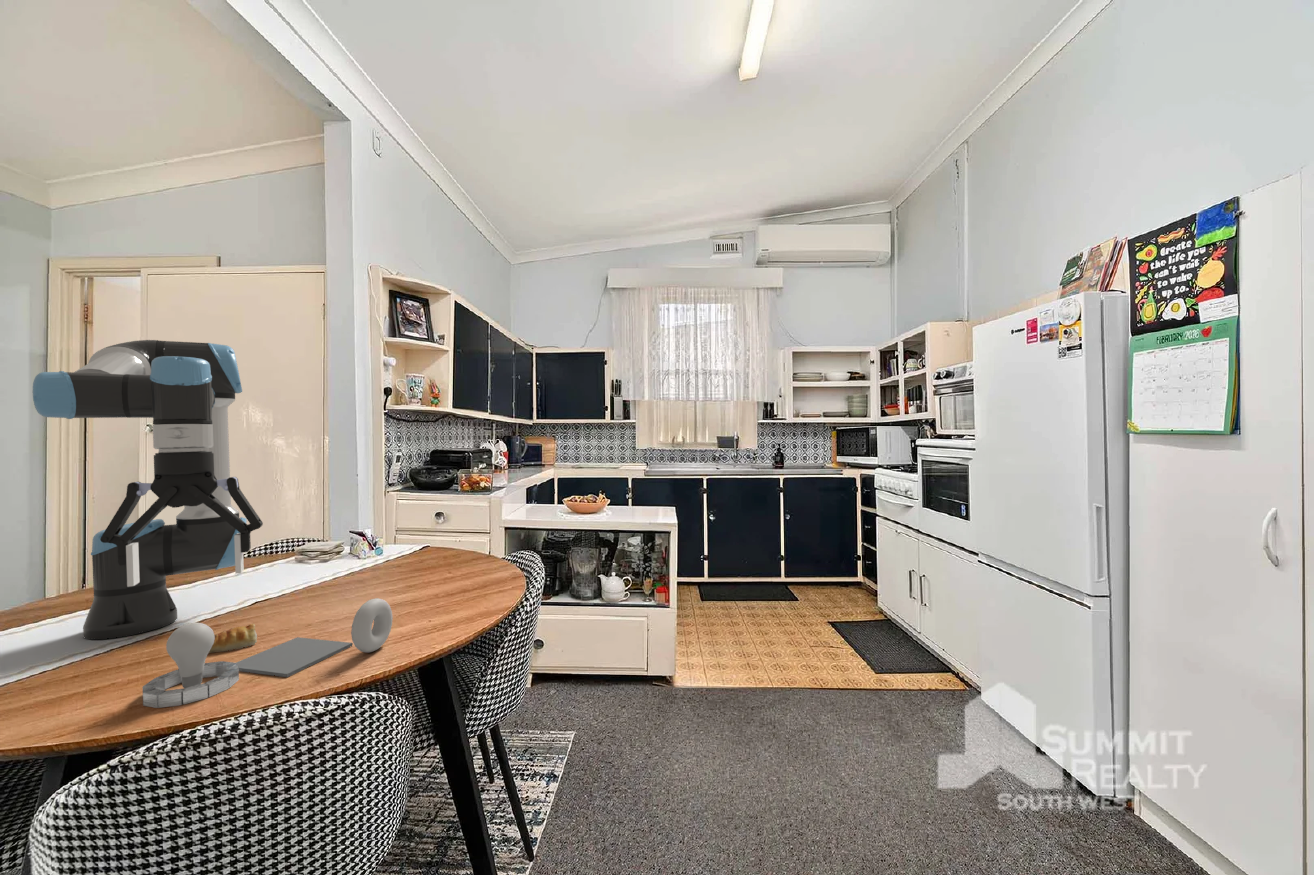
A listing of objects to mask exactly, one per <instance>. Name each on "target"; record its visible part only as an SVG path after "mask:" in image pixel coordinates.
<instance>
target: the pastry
mask: <svg viewBox="0 0 1314 875" xmlns="http://www.w3.org/2000/svg"><path fill="white" fill-rule="evenodd" d="M257 634H258V633H257V632H256V624H255V623H251V624H248V625H244V626H243V625H241V626H236V627H231V628H229V629H228V630H223V631H220V632H219V633H217V634H214V635H215V640H214V643H213V645H212V647H211V649H210V651H209V653H208V654H212V653H223V652H228V650H229V651H234V650H233V649H235V650H239V649H243V647H245V648H248V647H247V646H249V647H252V646H251V645H253V646H255V645H256V644H257V643H256V642H258V641H257V638H258V635H257ZM255 643H256V644H255Z"/></svg>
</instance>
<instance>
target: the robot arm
mask: <svg viewBox="0 0 1314 875" xmlns="http://www.w3.org/2000/svg"><path fill="white" fill-rule="evenodd" d="M240 393H241V394H242V393H243V388H242V384H241V378H240V373H239V368H238V362H237V357H236V352H235V350H234V349H233V347H231V346H229V345H225V344H220V343H211V342H193V341H173V340H158V339H141V340H132V341H127V342H119V343H116V344H113V345H109V346H106V347H104V348H101V349H99V350H97V351H96V352H94V353H93V354H92V355H91V357H89V360H88V363H86V364H85V365H84V366H82V367H79V368H78V369H77V370H75V371H72V372H71V371H70V372H69V371H63V370H59V371H42V372H39V373H37V374H36V375H35V377H34V379H33V383H32V400H33V405H34V408H35V410H36V412H37V413H38V414H39V415H40V416H42V417H44V418H55V419H56V418H59V419H67V420H73V419H97V418H99V419H105V418H107V419H109V418H111V419H112V418H115V419H117V418H132V419H134V418H135V419H141V418H143V419H144V418H149V419H152V441H153V442H152V445H153V446H152V447H153V449H155V450H158V452H156V453H154V455H153V469H154V470H153V471H154V472H153V474H154V475H153V477H154V478H153V481H152V483H151V482H150V483H149V482H141V481H134V482H132V481H131V482H130V483H128V484H127V486H126V493H125V498H124V499H123V501H122V503H121V504H120V506H119V507H118V509H117V511H116V512H115V514H114V515H113V517H112V519H111V520H110V522H109V524H108V525H107V527H106V528H105V529H103V530H100V531H98V532H97V533H95V535H94V536H93V537H92V545H91V546H92V547H91V552H90V555H91V559H92V562H91V563H92V579H93V580H92V583H93V599H92V603H91V604H90V609H89V611H88V614H87V616H86V619H85V621H84V623H83V625H82V626H83V628H82V631H83V632H82V633H83V634H82V636H84V637H85V638H84V637H83V638H84V639H86V638H87V639H86V640H107V638H109V639H116V637H117V638H122V636H124V637H129V636H134V635H139V634H143V633H147V632H149V631H150V632H151V631H155V630H156V629H160V628H164V627H165V626H168V625H170V623H171V624H173V623H174V622H176V621H177V620H178V608H177V607H176V604H175V603H174V600H173V598H172V597H171V594H170V592H169V590H168V589H167V579H166V578H167V577H169V576H174V575H181V574H183V575H184V574H188V573H189V574H190V573H197V572H204V571H212V570H215V571H217V570H219V569H225V568H230V567H235V568H234V570H235V571H234V572H235V574H241V573H242V572H244V570H245V565H244V564H245V563H244V553H249V552H250V549H251V533H252V532H253V531H256V530H258V529H259V530H260V528H261V527H262V526H263V525H264V522H263V521H262V519H261V518H260V516H259V515H258V513H257V512H256V510H255V509H254V508H253V506H252V505H251V503H250V502H249V501H248V499H247V498H246V496H245V494H244V493H243V492H242V490H241V488H240V483H239V478H238V477H237V476H231V469H230V467H231V465H230V441H229V440H230V439H229V412H228V411H229V407H230V405H232V404H233V403H234V402H235V401H236V394H240ZM149 491H151V492H152V493H153V494H154V495H156V497H157V499H156V500H155V501H154V502H153V503H152V504H151V505H150V507H149V508H148V509H147V510H146V511H145V512H144V513H143V514H141V516H140V517H139V518H138V519H136V521H135V522H131V523H127V521H128V520H129V518H130V516H131V514H132V513H133V511H134V509H135V508H136V506H137V505H138V503H139V501H140V499H141V497H142V496H145V495H147V493H148V492H149ZM232 500H233V501H234V503H235V504H236V505H237V506H238V508H239V510H240V511H241V513H242V514H243V516H244V517H243V516H241V517H240V511H239V510H238V509H237V508H235V507H234V506H233V505H232ZM167 507H171V508H174V509H175V508H181V507H183V510H182V511H180V513H179V514H177V515H176V516H175V519H176V520H175V521H176V523H174V524H166V522H165V521H164V519H162V518H157V519H155V518H156V517H157V516H158V515H159V514H160V513H161V512H162V511H163V510H165V509H166V508H167ZM247 522H248V524H247ZM176 619H177V620H176ZM175 620H176V621H175Z"/></svg>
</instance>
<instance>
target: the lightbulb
mask: <svg viewBox="0 0 1314 875" xmlns="http://www.w3.org/2000/svg"><path fill="white" fill-rule="evenodd" d="M215 635H216V634H215V632H214V630H213V629H212V628H211V627H210V626H209V625H207V624H206V623H203V622H190V623H186V624H183V625H181V626H179V627H177V628H176V629H175V630H174V631H172V633H171V634H170V636H169V637H168V638H167V640H166V644H165V646H166V652H167V654H168V655H169V657H170V659H172V660H173V661H174V662H175V665H177V667H178V668H177V670H178V669H179V674H180V676H181V677H182V683H181V685H182V689H183V688H188V687H192V686H195V685H199V684H203V678H202V677H203V676H202V673H203V671H204V664H205V663H206V659H207V657H208V655H209V654H210V653H209V651H210V649H211V647H212V645H213V643H214V640H215Z"/></svg>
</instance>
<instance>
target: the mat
mask: <svg viewBox="0 0 1314 875" xmlns="http://www.w3.org/2000/svg"><path fill="white" fill-rule="evenodd" d="M352 645H353V646H354V643H353V642H347V641H339V640H337V641H336V640H331V639H330V640H329V639H319V638H308V637H299V636H297V637H294V638H292V639H290V640H287V641H285V642H283V643H280V644H277V645H275V646H273V647H270V648H268V649H266V650H263V651H261V652H258V653H256V654H253V655H251V656H248V657H246V658H244V659H242V660H239V661H237V662H235V663H236V664H237V666H238V668H239V672H241V673H242V672H243V673H249V672H250V673H251V674H258V675H266V676H267V675H268V676H274V675H275V677H281V678H289V677H291V676H293V675H295V674H297V673H299V672H302V671H303V669H304V670H306V669H307V667H308V668H310V667H312V666H314V665H316V664H318V663H320V662H323V661H324V660H326V659H329V658H330V657H332V656H335V655H336V653H337V654H339V653H341V652H343V651H345V650H346V649H349V648H351V647H353V646H352ZM350 646H351V647H350ZM344 649H345V650H344ZM342 650H343V651H342ZM334 654H335V655H334ZM309 666H310V667H309ZM305 668H306V669H305ZM301 670H302V671H301Z"/></svg>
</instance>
